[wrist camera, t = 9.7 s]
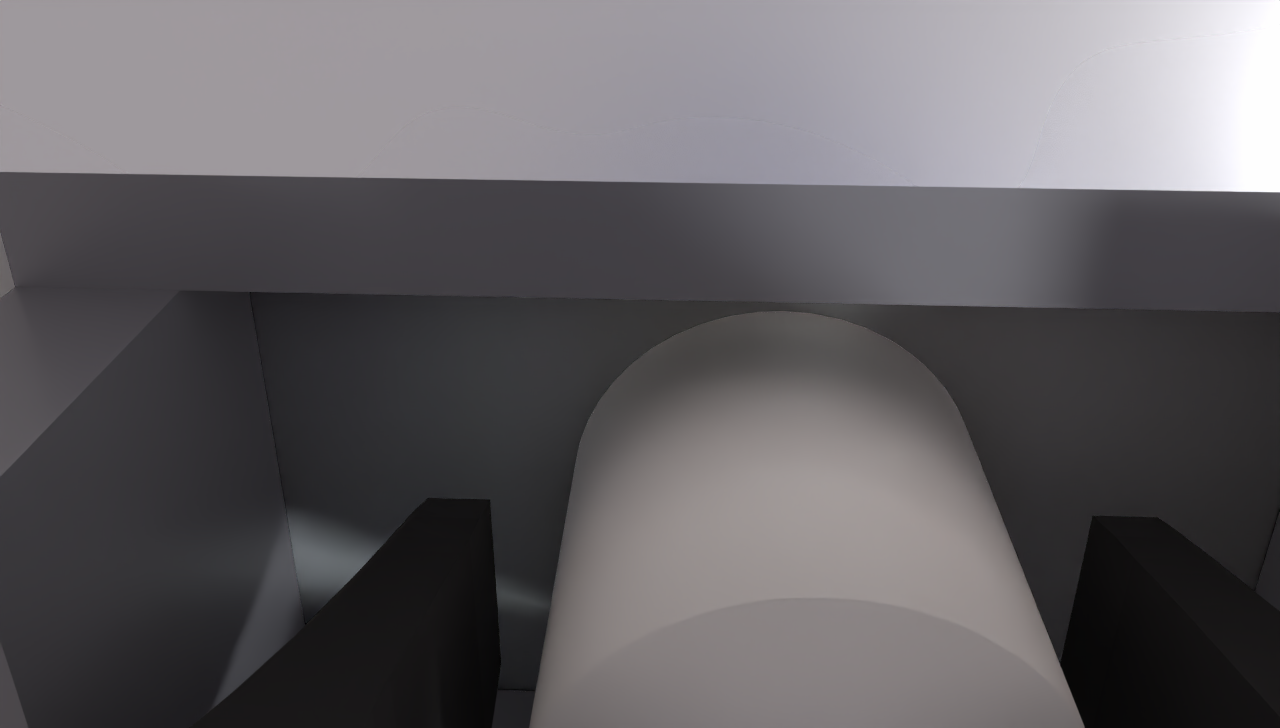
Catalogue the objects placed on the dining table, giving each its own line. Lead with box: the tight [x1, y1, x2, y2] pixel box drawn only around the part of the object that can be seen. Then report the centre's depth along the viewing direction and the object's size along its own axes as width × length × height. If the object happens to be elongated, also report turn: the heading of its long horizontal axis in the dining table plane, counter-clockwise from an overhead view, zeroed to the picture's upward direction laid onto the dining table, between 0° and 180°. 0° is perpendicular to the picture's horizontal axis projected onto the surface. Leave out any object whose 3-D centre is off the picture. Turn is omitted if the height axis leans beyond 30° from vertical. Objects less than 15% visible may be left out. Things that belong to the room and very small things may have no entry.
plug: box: [529, 311, 1085, 728], centre depth 11 cm, size 4×4×5 cm
